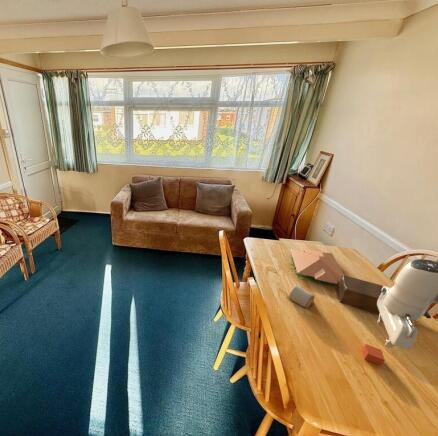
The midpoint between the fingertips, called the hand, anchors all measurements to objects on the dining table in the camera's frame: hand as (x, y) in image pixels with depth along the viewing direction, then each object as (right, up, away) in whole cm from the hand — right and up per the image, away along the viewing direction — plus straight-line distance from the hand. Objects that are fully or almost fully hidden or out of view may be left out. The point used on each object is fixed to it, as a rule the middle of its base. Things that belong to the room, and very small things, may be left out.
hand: (383, 334), depth 78 cm
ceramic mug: (-8, 0, +31) cm, 32 cm away
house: (+16, +11, +54) cm, 57 cm away
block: (0, -12, +5) cm, 13 cm away
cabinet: (+18, 0, +30) cm, 35 cm away
